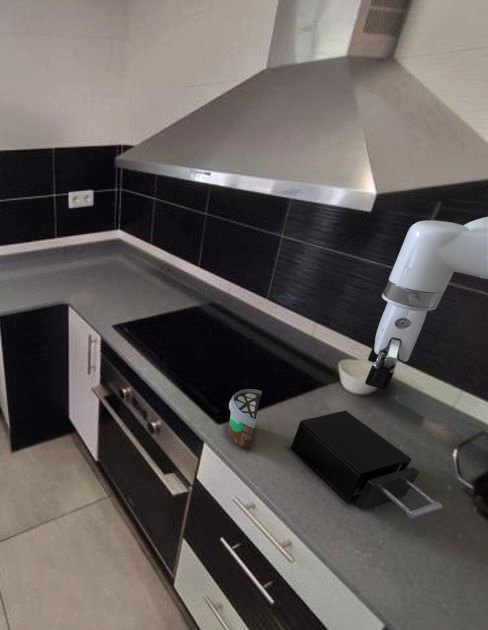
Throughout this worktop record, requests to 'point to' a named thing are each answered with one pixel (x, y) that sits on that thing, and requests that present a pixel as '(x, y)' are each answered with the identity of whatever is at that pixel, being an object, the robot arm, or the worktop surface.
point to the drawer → (392, 490)
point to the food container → (243, 416)
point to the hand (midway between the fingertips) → (376, 374)
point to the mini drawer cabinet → (344, 451)
